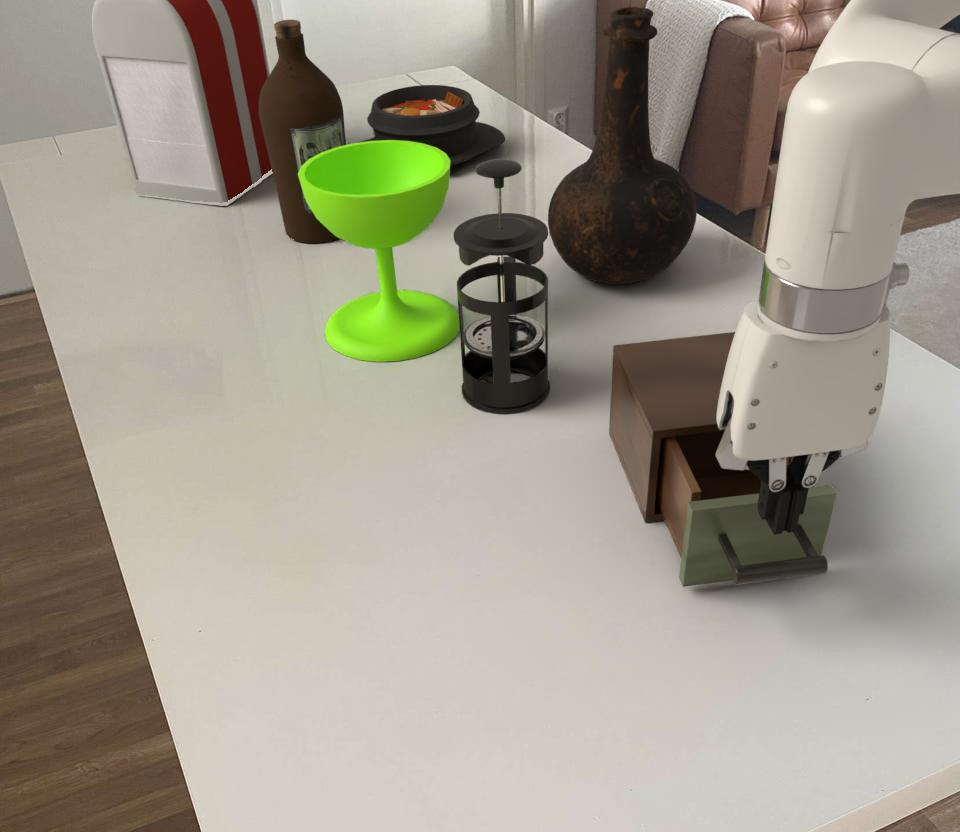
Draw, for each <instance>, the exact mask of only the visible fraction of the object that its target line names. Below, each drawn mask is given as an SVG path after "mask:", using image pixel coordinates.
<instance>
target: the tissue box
mask: <svg viewBox="0 0 960 832" xmlns="http://www.w3.org/2000/svg"><path fill="white" fill-rule="evenodd" d="M91 13H92V14H91V33H92V38H93V44H94V47H95V52H96V55H97V59H98V64H99V66H100V69H101V73H102V77H103V81H104V84H105V87H106V90H107V94H108V97H109V101H110V105H111V108H112V112H113V115H114V116H113V117H114V119H115V122H116V126H117V129H118V132H119V133H118V134H119V137H120V140H121V143H122V147H123V150H124V154H125V158H126V161H127V165H128V169H129V172H130V176H131V179H132V182H133V186H134V190H135V192H136V195H137V194H140V195H148V196H149V195H150V196H159V197H166V198H174V199H175V198H176V199H181V200H190V201H191V200H192V201H203V202H219V203H223V202H228V200H230V199H232V198H233V197H235V196H237V195H238V194H240V193H242V192H243V191H244V190H245V189H247V188H248V187H249V186H251V185H252V184H254V183H255V182H257V181H258V180H259V179H260V178H262V176H263V175H264V174H266V173H268V171H270V170H271V169H272V168H271V164H270V159H269V155H268V151H267V147H266V142H265V138H264V134H263V130H262V126H261V122H260V117H259V97H260V92H261V89H262V87H263V85H264V83H265V82H266V80H267V78H268V77H269V75H270V73H269V67H268V61H267V55H266V49H265V45H264V38H263V33H262V28H261V27H262V26H261V22H260V17H259V14H258V13H259V12H258V10H257V6H256V4H255V1H254V0H95V1H94V3H93V6H92V12H91Z"/></svg>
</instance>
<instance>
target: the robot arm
mask: <svg viewBox="0 0 960 832" xmlns="http://www.w3.org/2000/svg"><path fill="white" fill-rule="evenodd" d="M958 16H960V0H849V2H848V3H847V4H846V6H844V9H842V12H841V13H840V14H839V16H837V18H836V20H835V21H834V23H833V25H832V26H831V27H830V29H829V30H828V32H827V34H826V35H825V37H824V39H823V40H822V42H821V43H820V46H819V47H818V49H817V51H816V53H815V55H814V57H813V59H812V62H811V64H810V66H809V69H808V72H807V73H806V74H805V75H803V76H802V77H801V78H800V79H799V80H798V81H797V83H796V84H795V85H794V87H793V89H792V91H791V93H790V96H789V98H788V101H787V106H786V110H785V116H784V117H785V118H784V124H783V131H782V137H781V143H780V144H781V145H780V150H779V157H778V165H777V171H776V177H775V185H774V191H773V192H774V193H773V199H772V206H771V214H770V220H769V227H768V234H767V242H766V249H765V255H764V261H763V268H762V274H761V280H760V281H761V282H760V288H759V295H758V300H754V301H749V302H748V303H747V304H745V306H744V308H743V311H742V314H741V316H740V318H739V321H738V324H737V326H736V328H735V331H734V332H735V335H734V338H733V341H732V344H731V348H730V351H729V355H728V359H727V363H726V367H725V371H724V376H723V380H722V385H721V390H720V395H719V400H718V407H717V416H716V420H717V425H718V428H719V430H725V431H724V434H723V436H722V439H721V441H720V444H719V446H718V449H717V451H716V454H715V456H716V458H717V460H718V462H719V464H720V466H721V467H722V468H723V469H731V470H743V471H744V470H750V471H751V472H752V473H753V474H754V475H755V476H757V477H758V478H759V479H760V480H762V481H761V487H760V493H759V499H758V513H759V515H760V517H761V519H762V520H764V519H765V520H766V521H767V523H768V525H769V527H770V529H771V531H772V533H773V534H774V535H776V534H782V532H784V531H787V532H788V533H791V532H796V529H797V524H798V519H799V515H802V514H803V513H804V509H805V504H806V499H807V495H808V490H809V488H810V487H813V486H814V487H815V486H816V485H817V484H818V482H819V480H820V477H821V475H822V473H823V472H825V470H827V469H828V468H830V467H831V466H832V465H834V463H836V462H837V461H838V460H839V458H841V459H842V458H845V457H849V456H852V455H855V454H857V453H862V452H863V451H866V450H867V448H868V447H869V443H870V441H869V440H870V439H871V437H872V436H873V434H874V432H875V430H876V427H877V424H878V421H879V418H880V413H881V410H882V405H883V399H884V395H885V388H886V383H887V377H888V368H889V360H890V359H889V358H890V345H891V344H890V343H891V318H890V317H891V315H890V310H889V308H888V306H887V303H888V298H889V294H890V291H891V290H892V289H895V288H896V287H898V286H899V287H900V286H904V285H907V284H908V281H909V278H910V268H909V265H908V264H907V263H906V262H901V263H896V262H895V257H896V254H897V249H898V245H899V241H900V236H901V232H902V228H903V224H904V219H905V216H906V212H907V210H908V207H909V206H910V205H911V203H912V202H914V201H916V200H922V199H929V198H935V197H936V198H937V197H943V196H944V197H945V196H950V195H951V196H952V195H959V194H960V33H958V32H953V31H949V30H944V29H941V28H942V27H944V26H945V25H946V24H948V23H949V22H950V21H952V20H954V19H955V18H957V17H958ZM786 457H790V458H789V465H786Z"/></svg>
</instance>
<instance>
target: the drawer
mask: <svg viewBox="0 0 960 832" xmlns="http://www.w3.org/2000/svg"><path fill="white" fill-rule="evenodd" d="M723 434H724V431H716V432H708V433H699V434H691V435H682V436H674V437H665V438H661V447H660V458H659V469H658V479H657V490H656V501H657V503H658V506H659V508H660V510H661V513H662V515H663V517H664V522H665V524H666V527H667V529H668V531H669V533H670V536H671V538H672V541H673V543H674V545H675V548H676V550H677V552H678V555H679V557H680V567H679V574H678V579H679V582H680V583H681V587H683V588H686V587H691V586H692V587H693V586H699V585H700V586H701V585H708V584H717V583H725V582H731V581H732V583H733V584H734V585H736V586H737V585H738V586H739V585H745V584H754V583H761V582H768V581H769V582H770V581H777V580H785V579H793V578H802V577H808V576H810V577H811V576H817V575H818V576H819V575H825V574H827V572H828V568H829V563H828V559H827V557H826V556H825V555H822V554H823V551H824V546H825V542H826V537H827V534H828V531H829V526H830V522H831V519H832V514H833V510H834V508H835V507H834V506H835V502H836V499H837V495H838V493H837V492H836V489H835V488H834V487H833V485H832V484H825V485H817V486H816V485H814V486H813V487H810V488H809V490H808V495H807V499H806V504H805V509H804V513H803V514H802V515H799V519H798V524H797V529H796V532H791V533H788V532H787V531H784V532H782V534H776V535H774V534H773V533H772V531H771V529H770V527H769V525H768V523H767V521H766V520H765V519H764V520H762V519H761V517H760V515H759V513H758V499H759V493H760V487H761V481H762V480H760V479H759V478H758V477H757V476H755V475H754V474H753V473H752V472H751V471H750V470H744V471H743V470H731V469H723V468H722V467H721V466H720V464H719V462H718V460H717V458H716V456H715V454H716V451H717V449H718V446H719V444H720V441H721V439H722V436H723ZM789 458H790V457H786V465H789Z"/></svg>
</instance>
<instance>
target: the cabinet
mask: <svg viewBox="0 0 960 832" xmlns="http://www.w3.org/2000/svg"><path fill="white" fill-rule="evenodd" d="M735 332H736V331H732V332H731V331H730V332H722V333H721V332H720V333H713V334H705V335H694V336H693V335H692V336H686V337H675V338H667V339H658V340H649V341H641V342H639V341H638V342H631V343H622V344H613V347H612V362H611V363H612V365H611V382H610V383H611V384H610V403H609V404H610V405H609V425H608V434H609V437H610V439H611V442H612V444H613V447H614V449H615V452H616V454H617V456H618V459H619V462H620V464H621V467H622V469H623V472H624V474H625V477H626V479H627V482H628V484H629V486H630V489H631V491H632V494H633V496H634V498H635V501H636V503H637V506H638V509H639V511H640V513H641V516H642V518H643V521H644V523H645V524H646V523H655V522H663V521H664V522H665V520H664V517H663V515H662V513H661V510H660V508H659V506H658V503H657V501H656V490H657V479H658V469H659V458H660V447H661V438H665V437H674V436H682V435H691V434H699V433H708V432H716V431H725V430H719V428H718V425H717V420H716V416H717V407H718V400H719V395H720V390H721V385H722V380H723V376H724V371H725V367H726V363H727V359H728V355H729V351H730V348H731V344H732V341H733V338H734V335H735Z"/></svg>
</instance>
